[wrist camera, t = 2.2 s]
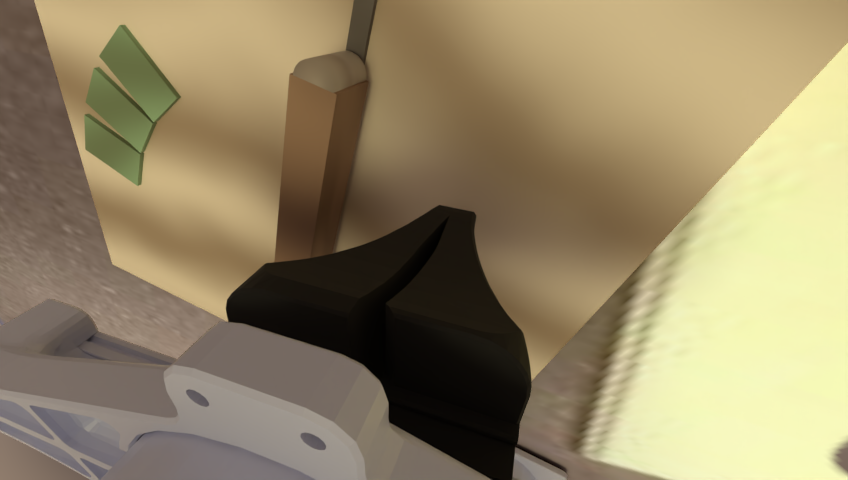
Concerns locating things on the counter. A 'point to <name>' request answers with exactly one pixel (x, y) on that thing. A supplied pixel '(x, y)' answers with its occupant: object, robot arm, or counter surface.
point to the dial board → (429, 128)
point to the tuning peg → (318, 152)
